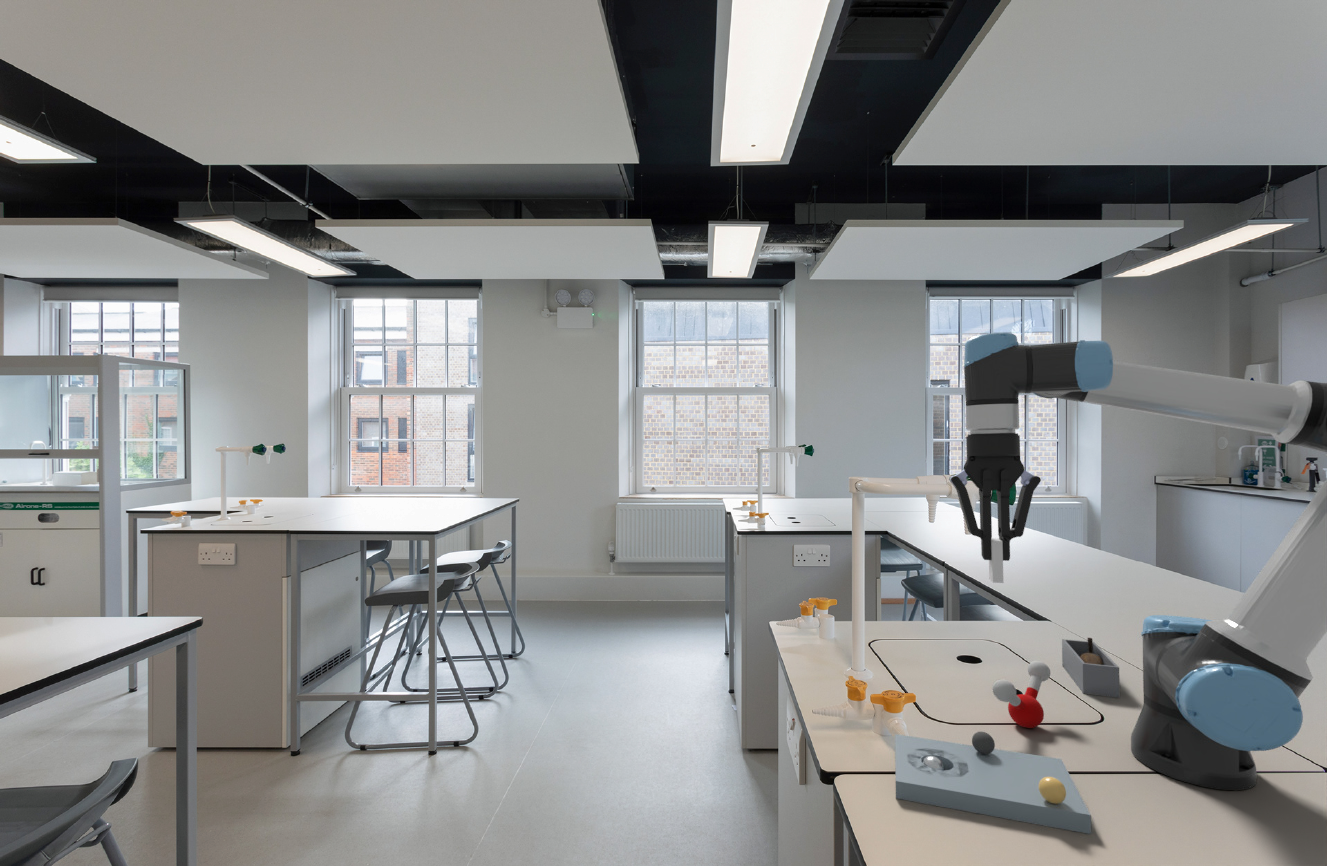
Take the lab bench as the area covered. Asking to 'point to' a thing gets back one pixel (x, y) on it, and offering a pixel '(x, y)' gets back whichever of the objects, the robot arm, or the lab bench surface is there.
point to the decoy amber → (1052, 790)
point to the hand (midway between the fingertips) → (996, 580)
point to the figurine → (1091, 655)
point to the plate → (987, 783)
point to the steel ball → (933, 763)
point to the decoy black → (983, 742)
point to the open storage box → (1090, 669)
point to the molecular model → (1024, 696)
